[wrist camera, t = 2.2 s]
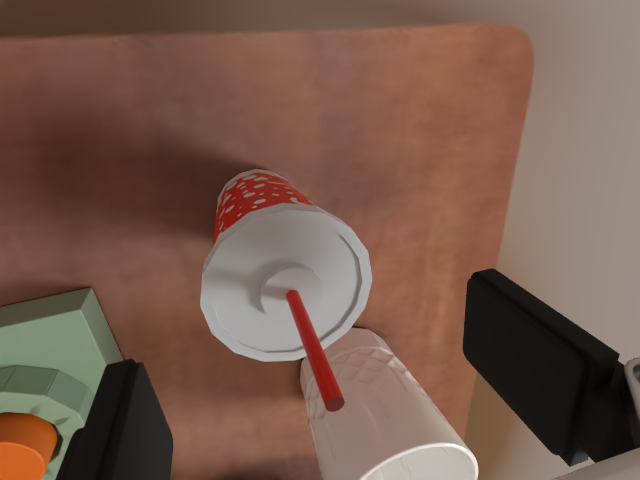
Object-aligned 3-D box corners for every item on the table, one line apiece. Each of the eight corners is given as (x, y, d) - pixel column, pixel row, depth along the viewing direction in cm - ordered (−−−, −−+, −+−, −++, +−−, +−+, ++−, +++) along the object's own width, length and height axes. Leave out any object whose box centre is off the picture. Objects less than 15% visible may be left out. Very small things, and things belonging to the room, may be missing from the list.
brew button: (-47, 425, 17) (-71, 459, 16) (40, 401, 18) (24, 432, 17) (-9, 473, 19) (-28, 509, 17) (69, 450, 20) (58, 482, 18)
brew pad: (-107, 329, 18) (-180, 390, 15) (92, 286, 20) (68, 332, 17) (0, 470, 23) (-37, 542, 20) (152, 425, 25) (144, 483, 21)
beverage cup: (327, 229, 23) (473, 415, 10) (235, 276, 22) (273, 528, 10) (284, 134, 20) (416, 238, 7) (178, 186, 19) (133, 386, 7)
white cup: (273, 352, 25) (310, 501, 16) (377, 300, 26) (466, 418, 17) (313, 421, 29) (361, 573, 20) (403, 374, 30) (487, 502, 21)
